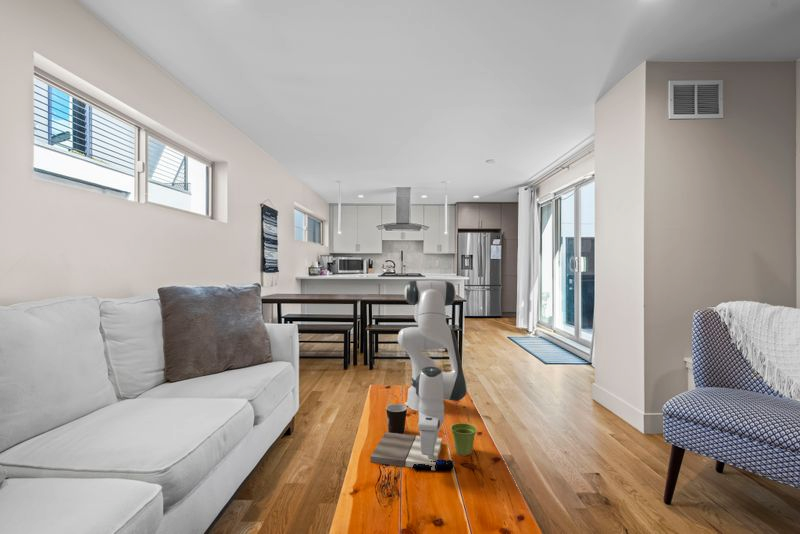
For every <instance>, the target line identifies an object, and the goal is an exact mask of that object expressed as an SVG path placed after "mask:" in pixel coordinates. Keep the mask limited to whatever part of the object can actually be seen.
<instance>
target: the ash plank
mask: <svg viewBox="0 0 800 534" xmlns="http://www.w3.org/2000/svg"><path fill="white" fill-rule="evenodd" d="M442 445H443V438H442V437H438V438H437V441H436V444H435V448H434V456H433V458H432V459H431V458H428V455H423V454H422V453H421V445H420V435H415V440H414V442H413V445H412V447H411V449H410V452H409V454H408V456H407V459H406V464H405V468H412V467H413V465H414V464H425V465H429V466H432V467H431V470H430V471H436V469H435V465H436V462H433V461H437V460H438V461H439V456H440V452H441V450H442ZM431 461H432V462H431ZM438 461H437V462H438ZM436 466H437V465H436Z"/></svg>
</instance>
